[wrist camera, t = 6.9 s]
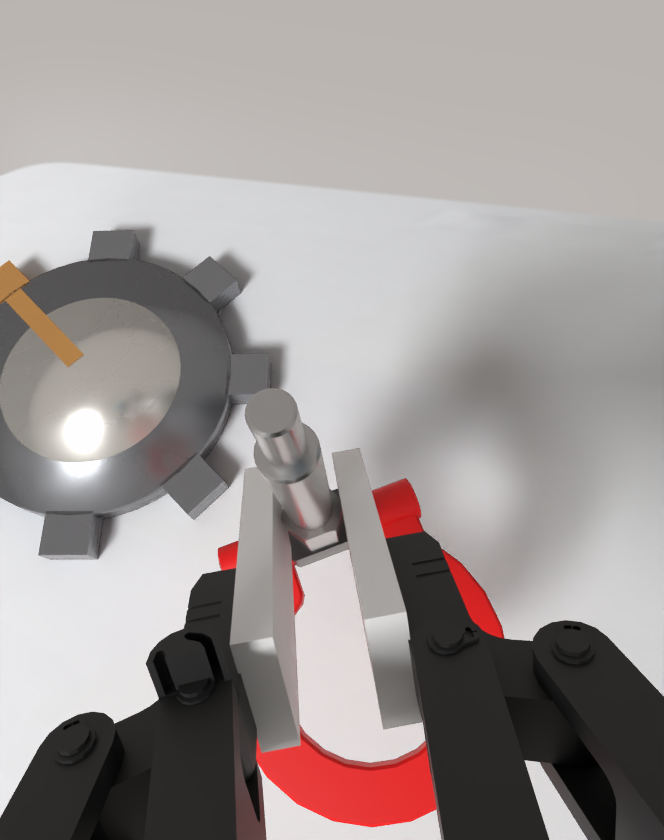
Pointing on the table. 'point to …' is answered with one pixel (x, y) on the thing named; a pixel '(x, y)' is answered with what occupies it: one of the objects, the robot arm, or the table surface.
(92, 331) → the sprocket plate
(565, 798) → the robot arm
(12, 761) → the table surface
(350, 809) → the tow hook
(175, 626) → the table surface
